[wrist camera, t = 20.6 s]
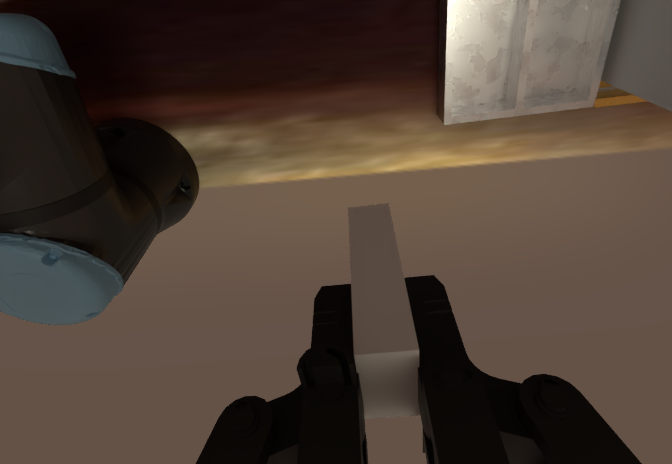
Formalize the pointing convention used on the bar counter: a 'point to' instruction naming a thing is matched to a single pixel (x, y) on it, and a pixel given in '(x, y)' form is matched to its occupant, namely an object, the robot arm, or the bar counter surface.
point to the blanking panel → (642, 51)
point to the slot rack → (524, 57)
